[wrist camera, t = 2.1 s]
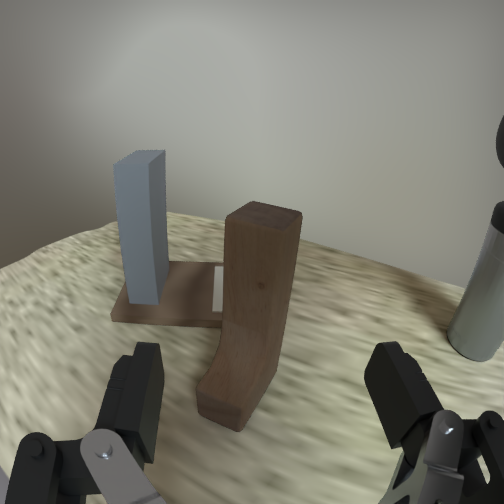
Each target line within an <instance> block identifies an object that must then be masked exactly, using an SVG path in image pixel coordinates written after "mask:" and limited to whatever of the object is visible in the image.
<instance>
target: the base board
mask: <svg viewBox="0 0 504 504" xmlns="http://www.w3.org/2000/svg"><path fill="white" fill-rule="evenodd" d="M223 266H224V263H214V262H183V261H169V272H168V275H167V278H166V282H165V285H164V289H163V292H162V295H161V299H160V302H159V305H148V304H132V303H129V297H128V292H127V286H126V282H125V284H124V286H123V288H122V290H121V292H120V294H119V296H118V298H117V301H116V303H115V305H114V307H113V309H112V312H111V314H110V315H111V319H112V321H114V322H126V323H138V324H152V325H168V326H188V327H216V328H222V306H223Z"/></svg>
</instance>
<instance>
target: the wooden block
mask: <svg viewBox="0 0 504 504" xmlns="http://www.w3.org/2000/svg"><path fill="white" fill-rule="evenodd" d="M301 225H302V213H301V212H299V211H296V210H292V209H287V208H282V207H278V206H274V205H269V204H265V203H260V202H255V201H252V202H249V203H247V204H246V205H244V206H242V207H241V208H239V209H237V210H236V211H234V212H232V213H231V214H229V215H228V216H227V217H226V219H225V236H224V266H223V306H222V330H221V336H220V343H219V346H218V349H217V351H216V354H215V357H214V359H213V362H212V364H211V366H210V368H209V369H208V371H207V372H206V374H205V375H204V377H203V378H202V380H201V381H200V382H199V384H198V385H197V387H196V396H197V405H198V413H199V414H200V415H202V416H204V417H206V418H208V419H210V420H212V421H214V422H216V423H218V424H221V425H223V426H225V427H227V428H230V429H232V430H234V431H236V432H240V431H241V430H242V429H243V427H244V426H245V424H246V423H247V421H248V419H249V418H250V416H251V414H252V413H253V411H254V409H255V408H256V406H257V404H258V403H259V401H260V399H261V398H262V396H263V394H264V392H265V391H266V389H267V387H268V385H269V384H270V382H271V380H272V378H273V377H274V375H275V373H276V371H277V366H278V361H279V356H280V351H281V346H282V340H283V335H284V329H285V324H286V318H287V312H288V307H289V301H290V295H291V289H292V283H293V277H294V271H295V265H296V258H297V252H298V245H299V239H300V232H301Z"/></svg>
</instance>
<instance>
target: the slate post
mask: <svg viewBox="0 0 504 504" xmlns="http://www.w3.org/2000/svg"><path fill="white" fill-rule="evenodd" d="M113 167H114V184H115V197H116V209H117V220H118V229H119V238H120V246H121V253H122V260H123V267H124V274H125V280H126V286H127V292H128V297H129V303H132V304H148V305H159V302H160V299H161V295H162V292H163V289H164V285H165V282H166V278H167V275H168V272H169V257H168V240H167V218H166V185H165V183H166V182H165V150H139V151H135V152H133V153H132V154H130V155H128V156H127V157H125V158H124V159H122V160H120V161H118V162H117V163H115V164H114V165H113Z"/></svg>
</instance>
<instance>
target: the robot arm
mask: <svg viewBox="0 0 504 504" xmlns="http://www.w3.org/2000/svg"><path fill="white" fill-rule="evenodd" d="M496 150H497V156H498V159H499V161H500V163H501V165H502V166H503V168H504V116H503V118H502V120H501V123H500V125H499V128H498V132H497V137H496ZM447 336H448V339H449V341H450V343H451V344H452V346H453V347H454V348H455V349H456V350H457V351H458V352H459V353H461V354H462V355H464V356H465V357H467V358H469V359H472V360H475V361H487V360H489V359H491V358H492V357H493V355H494V354H495V352H496V350H497V349H499V347H500V345H501V344H502V342H503V340H504V201H502V202H499V203H498V204H497V205H496V206H495V208H494V211H493V215H492V218H491V222H490V225H489V228H488V231H487V234H486V237H485V240H484V243H483V246H482V249H481V252H480V255H479V258H478V260H477V263H476V266H475V268H474V271H473V273H472V276H471V278H470V281H469V283H468V285H467V288H466V290H465V292H464V295H463V297H462V299H461V301H460V303H459V306H458V308H457V310H456V312H455V314H454V316H453V318H452V320H451V322H450V324H449V326H448V328H447ZM364 380H365V384H366V387H367V389H368V392H369V394H370V396H371V399H372V401H373V404H374V406H375V409H376V411H377V414H378V416H379V419H380V421H381V424H382V426H383V429H384V432H385V434H386V437H387V439H388V442H389V445H390V447H391V449H394V448H398V447H402V448H403V452H402V453H401V455H400V458H399V460H398V463H397V466H396V469H395V471H394V474H393V477H392V479H391V482H390V484H389V487H388V489H387V492H386V493H385V495H384V496H383V498H382V499H381V500H380V501H379V503H378V504H504V420H503V419H502V417H501V416H500V415H499V414H498V413H496V412H494V411H485V412H484V413H482V414H481V416H480V417H479V418H478V419H461V418H460V416H459V415H458V414H456V413H455V412H453V411H451V410H444V408H443V407H442V405H441V403H440V401H439V399H438V398H437V396H436V394H435V392H434V390H433V389H432V387H431V385H430V383H429V382H428V381H427V378H426V376H425V375H424V373H422V369H421V368H420V366H419V364H418V363H417V361H416V360H415V359H414V358H413V357H411V356H410V355H409V354H408V353H404V351H403V350H402V348H401V346H400V345H399V343H398V342H396V341H393V342H383V343H378V344H377V345H376V347H375V349H374V351H373V353H372V356H371V358H370V360H369V362H368V364H367V367H366V369H365V373H364ZM163 389H164V369H163V363H162V358H161V351H160V346H159V344H158V343H146V342H137V344H136V347H135V351H134V354H133V356H128V355H123V356H122V357H121V358H120V359H119V360H118V361H117V362H116V363H115V365H114V367H113V370H112V373H111V376H110V379H109V382H108V385H107V389H106V392H105V395H104V399H103V402H102V405H101V409H100V412H99V416H98V419H97V423H96V425H95V427H94V429H93V430H92V431H91V432H89V433H88V434H86V435H85V436H84V438H81V439H78V440H69V441H53V440H52V439H51V438H50V437H49V436H47V435H46V434H43V433H40V432H34V433H30V434H28V435H26V436H25V437H24V438H23V439H22V440H21V442H20V444H19V447H18V450H17V454H16V457H15V461H14V465H13V469H12V473H11V477H10V481H9V485H8V490H7V495H6V500H5V504H86V495H91V494H102V495H103V496H104V498H105V500H106V501H107V503H108V504H167V503H166V502H165V501H164V499H163V498H162V497H161V496H160V494H159V493H158V492H157V491H156V490H155V488H154V487H153V485H152V484H151V483H150V481H149V480H148V478H147V477H146V476H145V474H144V473H143V470H144V463H151V464H153V461H154V453H155V445H156V437H157V430H158V422H159V415H160V409H161V402H162V395H163ZM481 455H482V456H483V458H484V461H485V463H486V466H487V468H488V471H489V473H490V481H489V483H488V484H487V483H486V481H485V478H484V476H483V473H482V471H481V468H480V466H479V463H478V461H477V458H479V457H480V456H481Z"/></svg>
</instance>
